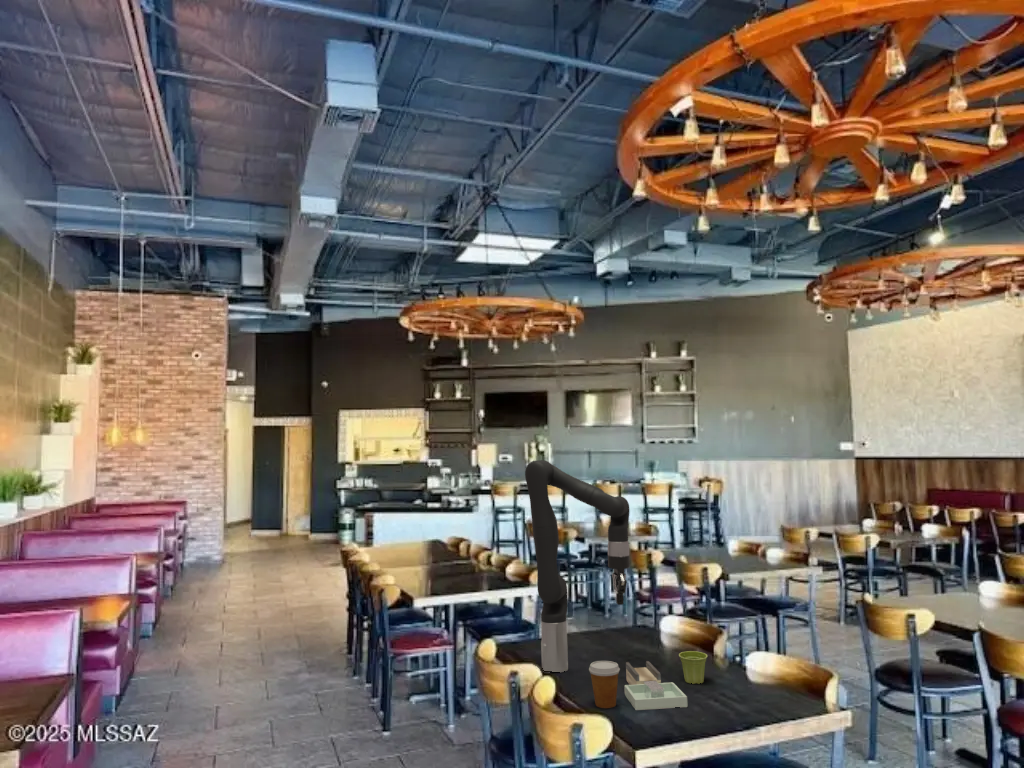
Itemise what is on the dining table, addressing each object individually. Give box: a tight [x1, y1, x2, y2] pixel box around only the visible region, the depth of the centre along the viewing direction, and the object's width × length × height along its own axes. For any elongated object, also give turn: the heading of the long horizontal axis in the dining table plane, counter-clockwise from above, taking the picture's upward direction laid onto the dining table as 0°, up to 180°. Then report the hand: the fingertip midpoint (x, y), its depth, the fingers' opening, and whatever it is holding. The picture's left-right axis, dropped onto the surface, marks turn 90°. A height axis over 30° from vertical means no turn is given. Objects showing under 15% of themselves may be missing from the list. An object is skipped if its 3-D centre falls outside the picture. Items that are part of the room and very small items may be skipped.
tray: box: [623, 682, 688, 711], centre depth 225 cm, size 16×14×3 cm
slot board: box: [625, 660, 662, 685], centre depth 239 cm, size 8×14×6 cm, turn 5°
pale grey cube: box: [647, 685, 664, 698], centre depth 223 cm, size 4×4×4 cm
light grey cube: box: [644, 681, 660, 698], centre depth 227 cm, size 4×4×4 cm
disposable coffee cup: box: [588, 660, 621, 709], centre depth 223 cm, size 10×10×12 cm
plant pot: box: [678, 650, 708, 685], centre depth 242 cm, size 9×9×9 cm
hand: (619, 604), depth 252 cm, fingers closed
